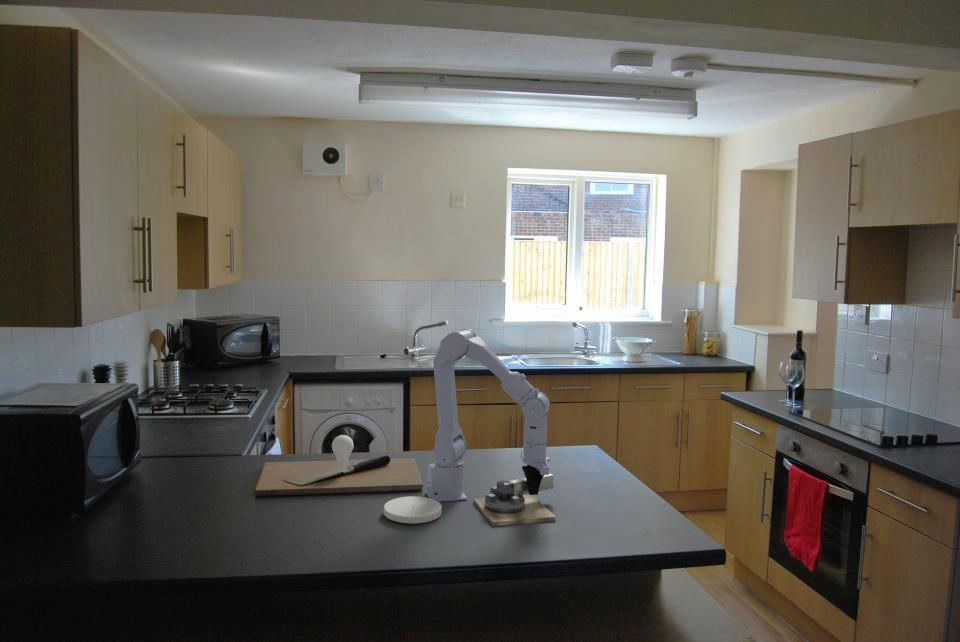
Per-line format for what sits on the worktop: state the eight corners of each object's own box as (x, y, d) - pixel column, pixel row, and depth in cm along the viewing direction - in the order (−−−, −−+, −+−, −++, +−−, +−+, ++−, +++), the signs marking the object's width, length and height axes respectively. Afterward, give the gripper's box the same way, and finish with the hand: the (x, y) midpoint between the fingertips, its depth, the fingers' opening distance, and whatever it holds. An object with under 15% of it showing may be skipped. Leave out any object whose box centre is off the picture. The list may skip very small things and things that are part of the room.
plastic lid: (448, 510, 176) (449, 500, 176) (430, 530, 163) (430, 520, 162) (397, 503, 180) (397, 493, 179) (374, 522, 166) (374, 512, 166)
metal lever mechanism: (500, 516, 169) (501, 492, 168) (476, 503, 177) (477, 480, 176) (563, 501, 180) (564, 479, 180) (538, 490, 188) (539, 469, 188)
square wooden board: (492, 526, 166) (493, 520, 166) (472, 501, 182) (472, 496, 181) (555, 520, 170) (555, 515, 170) (530, 497, 186) (530, 492, 186)
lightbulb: (341, 477, 197) (342, 439, 196) (327, 473, 201) (327, 435, 200) (357, 472, 202) (358, 435, 201) (343, 468, 206) (343, 431, 205)
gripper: (561, 448, 171) (559, 502, 172) (539, 433, 184) (537, 484, 186) (534, 450, 169) (532, 505, 170) (513, 435, 182) (512, 485, 184)
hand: (533, 494), depth 178 cm, fingers closed
